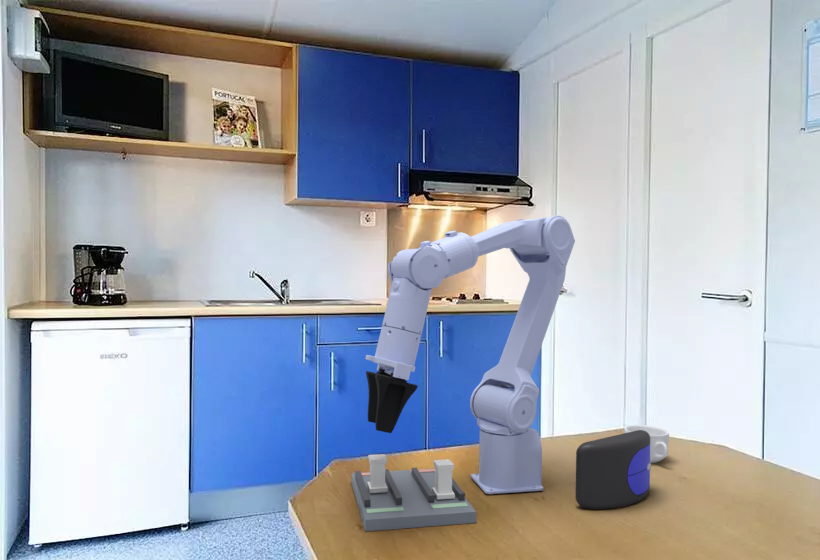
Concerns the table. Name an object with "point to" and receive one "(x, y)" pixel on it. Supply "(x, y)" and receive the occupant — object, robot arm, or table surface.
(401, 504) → the panel
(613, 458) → the leaning round-cornered charcoal block
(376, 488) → the breaker
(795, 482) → the table surface
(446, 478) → the breaker
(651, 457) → the teacup
